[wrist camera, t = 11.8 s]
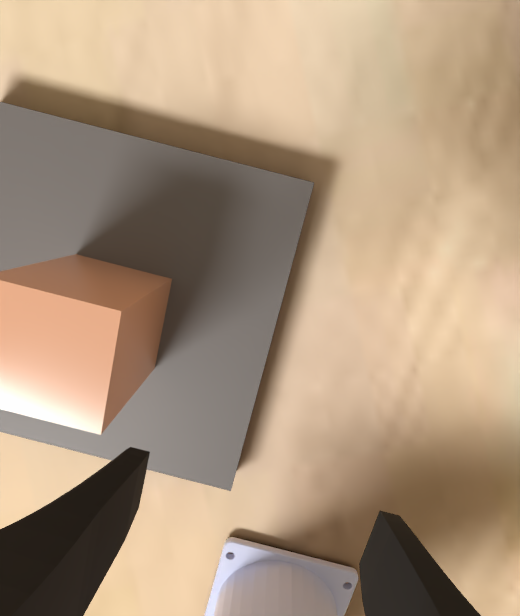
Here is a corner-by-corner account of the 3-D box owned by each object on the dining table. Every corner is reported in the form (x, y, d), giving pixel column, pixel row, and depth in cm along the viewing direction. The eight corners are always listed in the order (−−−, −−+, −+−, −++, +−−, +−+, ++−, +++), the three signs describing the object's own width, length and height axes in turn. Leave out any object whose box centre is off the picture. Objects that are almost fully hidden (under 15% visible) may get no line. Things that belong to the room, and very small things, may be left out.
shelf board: (234, 472, 23) (230, 490, 21) (-25, 406, 23) (-46, 419, 21) (312, 184, 19) (314, 182, 17) (-2, 103, 19) (-26, 95, 17)
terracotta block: (154, 368, 20) (100, 434, 14) (63, 345, 20) (-28, 401, 14) (172, 278, 19) (121, 311, 13) (75, 253, 19) (-19, 275, 13)
